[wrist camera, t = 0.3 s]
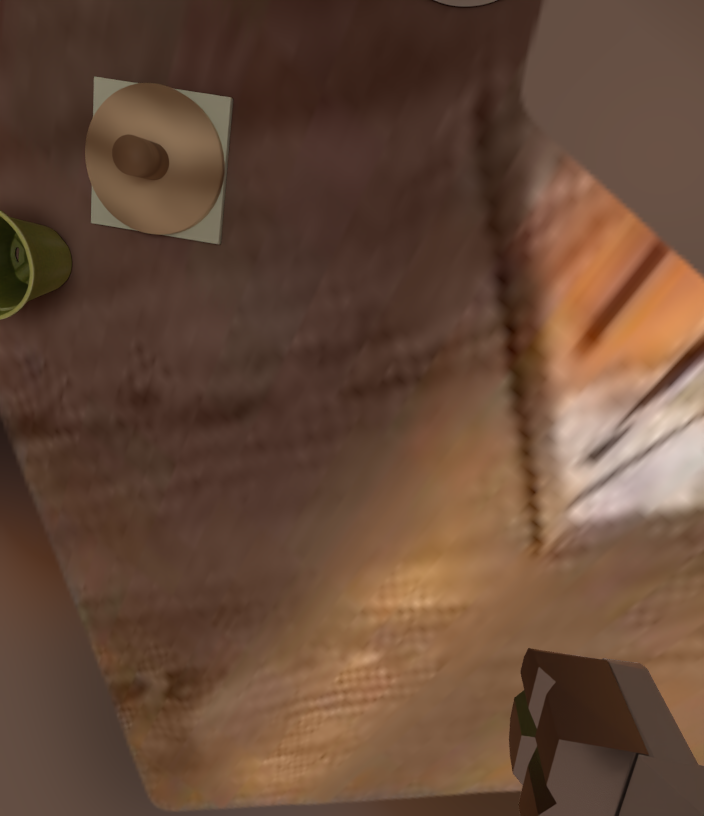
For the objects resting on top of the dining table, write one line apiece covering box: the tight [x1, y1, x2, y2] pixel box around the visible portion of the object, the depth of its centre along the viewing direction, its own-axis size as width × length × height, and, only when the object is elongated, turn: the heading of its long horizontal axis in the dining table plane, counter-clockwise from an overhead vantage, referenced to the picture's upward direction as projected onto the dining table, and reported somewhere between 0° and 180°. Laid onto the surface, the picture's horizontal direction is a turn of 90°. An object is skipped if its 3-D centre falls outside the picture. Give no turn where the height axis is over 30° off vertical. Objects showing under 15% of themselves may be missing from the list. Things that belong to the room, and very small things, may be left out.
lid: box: [85, 83, 225, 234], centre depth 49 cm, size 12×12×5 cm
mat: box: [91, 77, 233, 244], centre depth 51 cm, size 12×12×1 cm
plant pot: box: [0, 210, 72, 320], centre depth 51 cm, size 9×9×9 cm
